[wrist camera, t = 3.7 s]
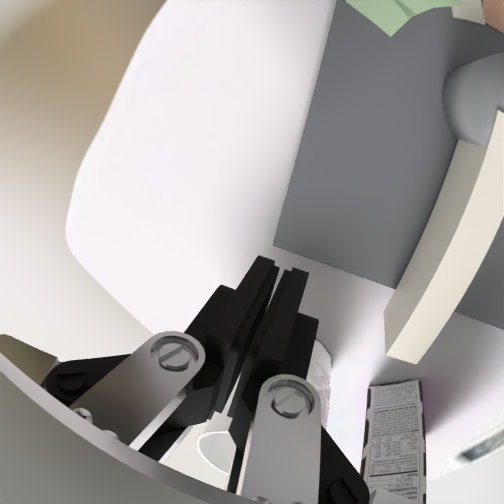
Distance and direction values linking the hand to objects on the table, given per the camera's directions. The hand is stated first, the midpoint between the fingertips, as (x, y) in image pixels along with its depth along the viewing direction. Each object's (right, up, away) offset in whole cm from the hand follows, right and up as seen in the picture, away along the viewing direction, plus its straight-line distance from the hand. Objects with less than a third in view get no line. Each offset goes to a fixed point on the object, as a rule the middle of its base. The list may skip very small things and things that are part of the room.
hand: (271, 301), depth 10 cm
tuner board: (+11, +8, +4) cm, 14 cm away
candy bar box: (+13, -14, +14) cm, 24 cm away
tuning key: (+11, +7, +3) cm, 13 cm away
